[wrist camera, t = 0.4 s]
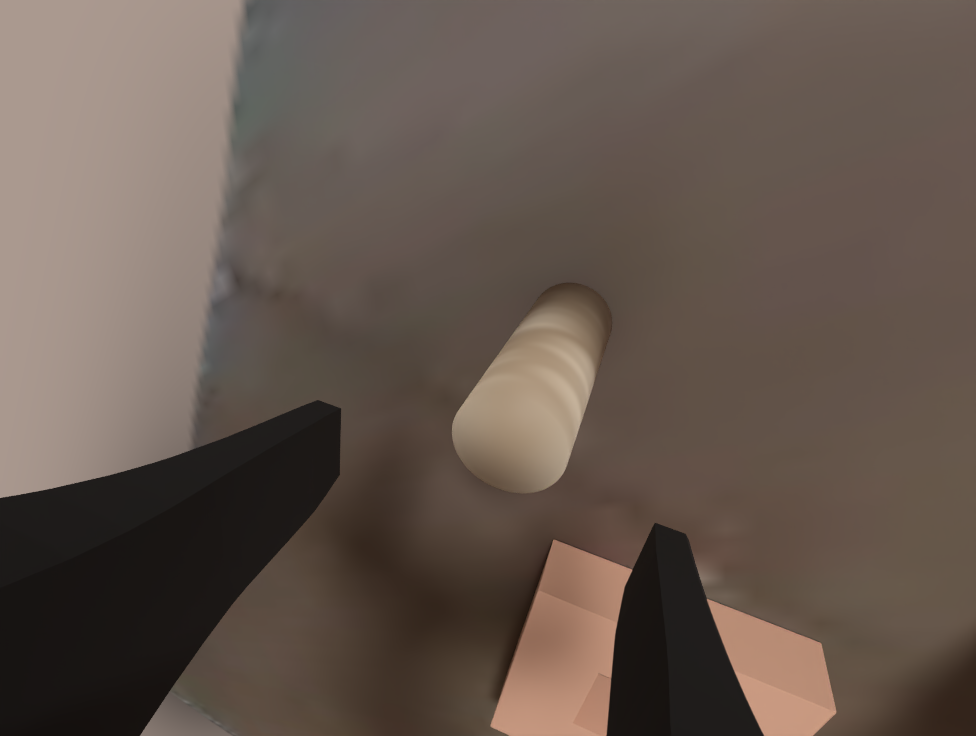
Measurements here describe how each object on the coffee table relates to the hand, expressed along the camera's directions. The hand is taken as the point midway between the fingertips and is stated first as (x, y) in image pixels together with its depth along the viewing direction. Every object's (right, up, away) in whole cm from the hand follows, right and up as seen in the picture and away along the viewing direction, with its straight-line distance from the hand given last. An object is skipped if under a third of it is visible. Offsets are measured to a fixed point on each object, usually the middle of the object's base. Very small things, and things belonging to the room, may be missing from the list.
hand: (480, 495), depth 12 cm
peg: (+3, +4, +8) cm, 10 cm away
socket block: (+8, -12, +15) cm, 21 cm away
